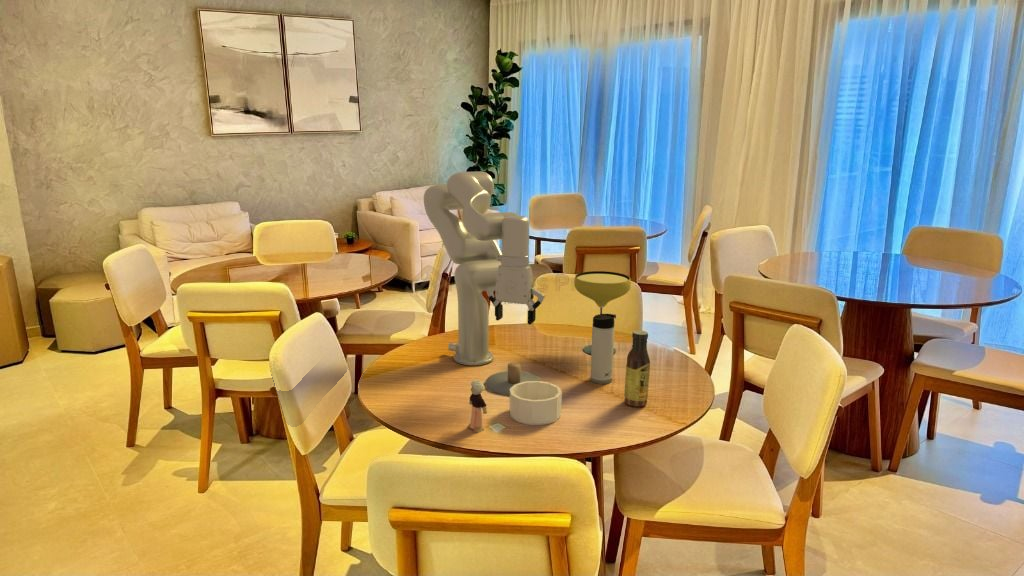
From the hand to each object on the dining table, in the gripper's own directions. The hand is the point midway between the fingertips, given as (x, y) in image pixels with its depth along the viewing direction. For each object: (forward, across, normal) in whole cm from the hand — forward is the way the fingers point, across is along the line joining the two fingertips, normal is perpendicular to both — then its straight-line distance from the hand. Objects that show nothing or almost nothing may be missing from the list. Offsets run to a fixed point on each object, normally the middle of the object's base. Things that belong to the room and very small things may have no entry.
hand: (514, 321), depth 186 cm
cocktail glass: (+19, +14, +39) cm, 46 cm away
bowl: (+19, +13, -16) cm, 28 cm away
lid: (+19, 0, 0) cm, 19 cm away
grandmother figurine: (+20, +3, -30) cm, 36 cm away
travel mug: (+19, +22, +14) cm, 32 cm away
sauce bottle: (+20, +35, +2) cm, 40 cm away
